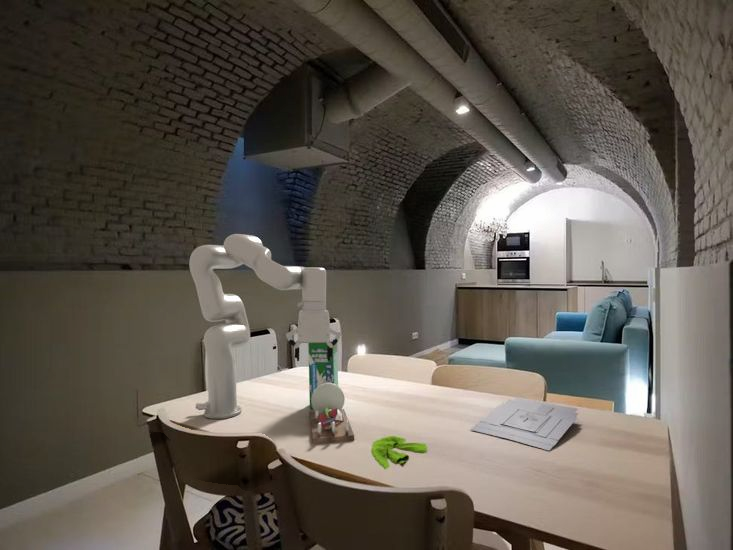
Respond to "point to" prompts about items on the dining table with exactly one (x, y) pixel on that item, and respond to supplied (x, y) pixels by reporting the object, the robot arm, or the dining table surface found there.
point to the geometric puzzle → (330, 417)
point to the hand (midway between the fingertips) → (313, 359)
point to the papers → (528, 422)
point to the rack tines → (332, 424)
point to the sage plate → (327, 398)
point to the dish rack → (330, 431)
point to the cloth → (384, 451)
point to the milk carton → (321, 366)
